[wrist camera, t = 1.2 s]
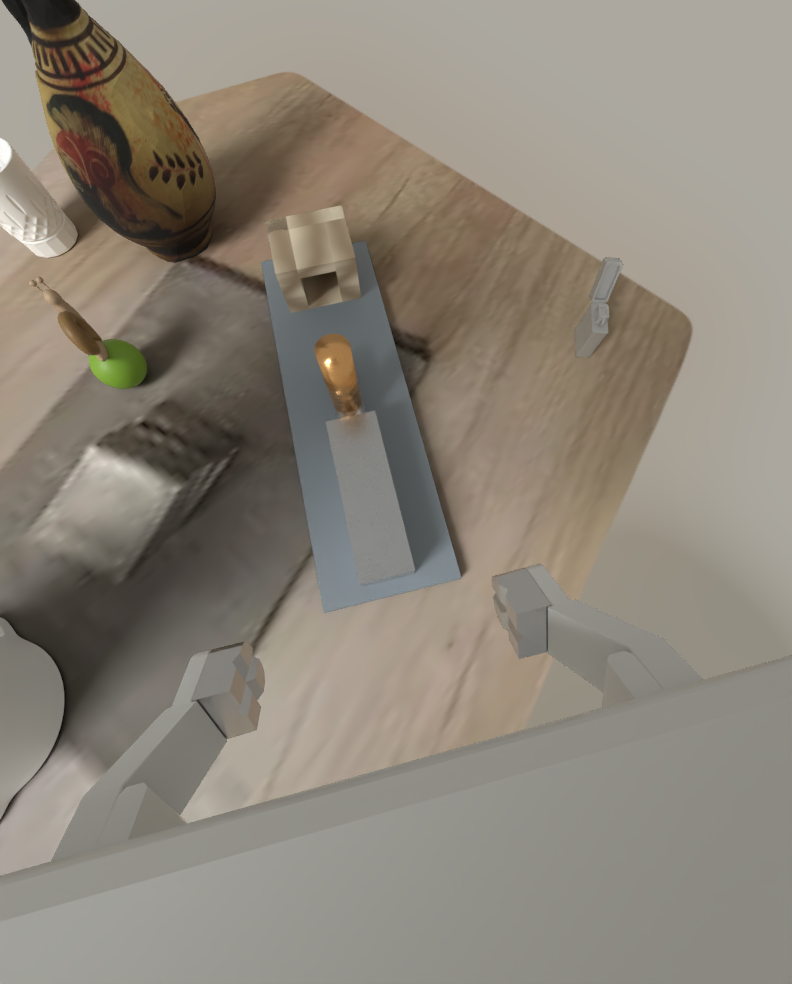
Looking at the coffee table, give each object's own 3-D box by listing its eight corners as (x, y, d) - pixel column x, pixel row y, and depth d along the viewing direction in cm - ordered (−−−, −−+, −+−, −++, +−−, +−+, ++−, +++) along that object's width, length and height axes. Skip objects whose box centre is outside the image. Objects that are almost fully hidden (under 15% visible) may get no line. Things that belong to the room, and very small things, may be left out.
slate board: (326, 612, 38) (323, 612, 37) (264, 269, 51) (261, 261, 49) (459, 578, 39) (461, 578, 38) (366, 248, 51) (365, 240, 50)
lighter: (590, 357, 46) (627, 308, 38) (575, 356, 46) (609, 307, 38) (588, 309, 48) (623, 253, 40) (574, 308, 48) (606, 252, 40)
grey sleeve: (365, 586, 38) (359, 584, 33) (334, 442, 42) (325, 421, 37) (413, 574, 38) (415, 570, 33) (378, 432, 42) (375, 410, 37)
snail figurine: (143, 345, 48) (59, 264, 36) (164, 382, 46) (83, 309, 34) (103, 367, 47) (4, 290, 35) (123, 405, 45) (26, 338, 34)
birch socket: (290, 312, 47) (275, 274, 41) (281, 263, 49) (265, 220, 44) (361, 297, 47) (355, 257, 42) (348, 249, 50) (341, 205, 44)
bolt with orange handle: (371, 573, 37) (357, 561, 26) (326, 371, 43) (301, 295, 33) (402, 565, 37) (402, 550, 26) (354, 365, 44) (337, 288, 33)
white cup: (21, 230, 53) (-63, 149, 44) (75, 211, 54) (5, 127, 45) (32, 269, 51) (-54, 193, 42) (88, 248, 52) (17, 169, 43)
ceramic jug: (258, 215, 53) (85, -238, 25) (191, 293, 50) (-103, -130, 21) (164, 175, 56) (-91, -277, 27) (94, 247, 52) (-285, -186, 24)
